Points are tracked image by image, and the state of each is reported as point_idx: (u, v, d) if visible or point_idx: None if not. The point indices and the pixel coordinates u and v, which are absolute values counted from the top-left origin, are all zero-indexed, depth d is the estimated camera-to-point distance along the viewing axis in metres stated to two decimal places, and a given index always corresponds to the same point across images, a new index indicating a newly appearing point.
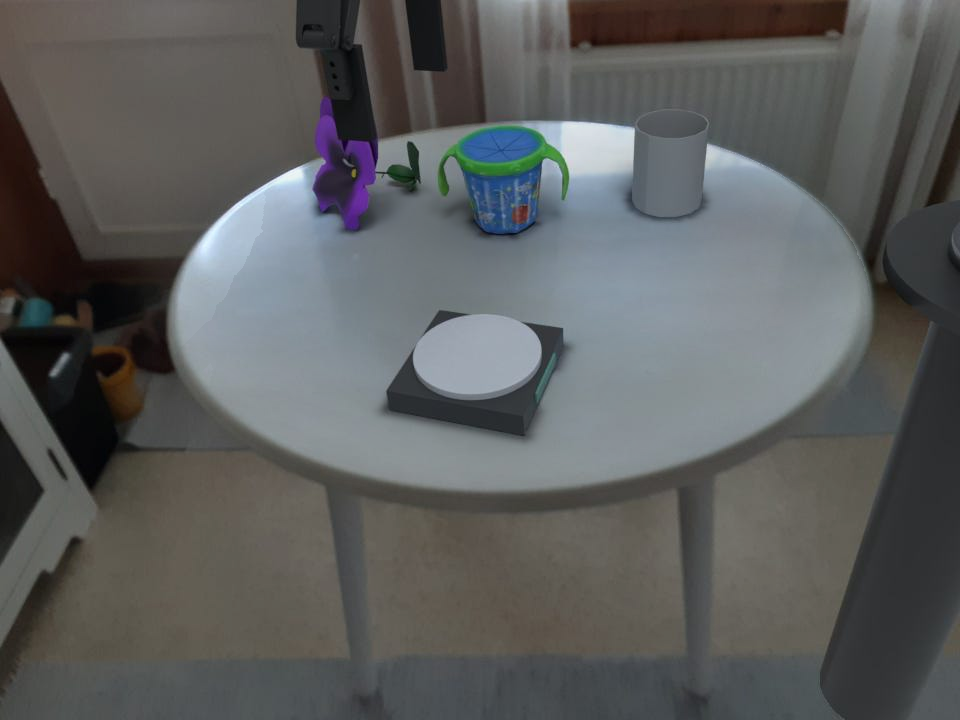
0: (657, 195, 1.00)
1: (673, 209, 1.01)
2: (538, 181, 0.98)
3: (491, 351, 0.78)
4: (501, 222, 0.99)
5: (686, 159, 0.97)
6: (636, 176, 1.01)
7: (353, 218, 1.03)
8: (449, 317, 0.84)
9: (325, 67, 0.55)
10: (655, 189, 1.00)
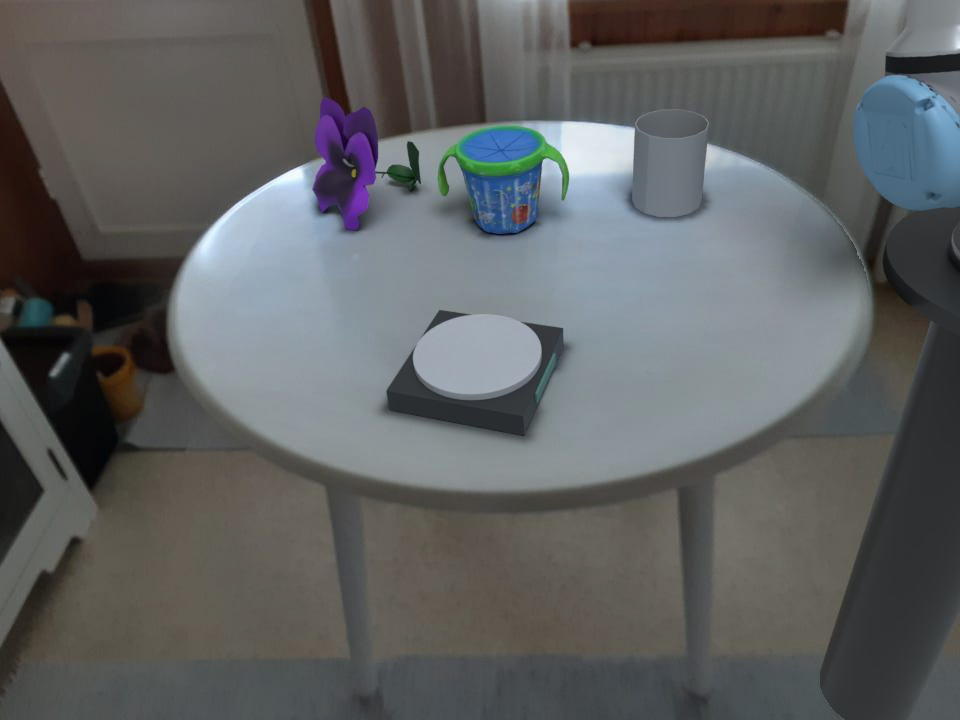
0: (657, 195, 1.00)
1: (673, 209, 1.01)
2: (538, 181, 0.98)
3: (491, 351, 0.78)
4: (501, 222, 0.99)
5: (686, 159, 0.97)
6: (636, 176, 1.01)
7: (353, 218, 1.03)
8: (449, 317, 0.84)
9: None
10: (655, 189, 1.00)
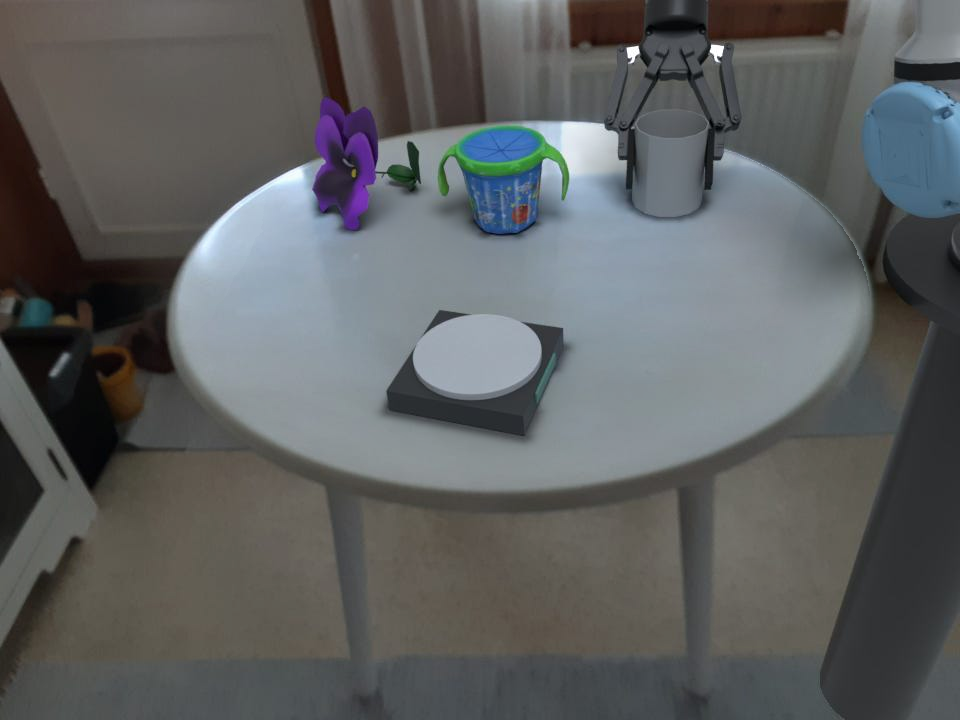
0: (657, 195, 1.00)
1: (673, 209, 1.01)
2: (538, 181, 0.98)
3: (491, 351, 0.78)
4: (501, 222, 0.99)
5: (686, 159, 0.97)
6: (636, 176, 1.01)
7: (353, 218, 1.03)
8: (449, 317, 0.84)
9: None
10: (655, 189, 1.00)
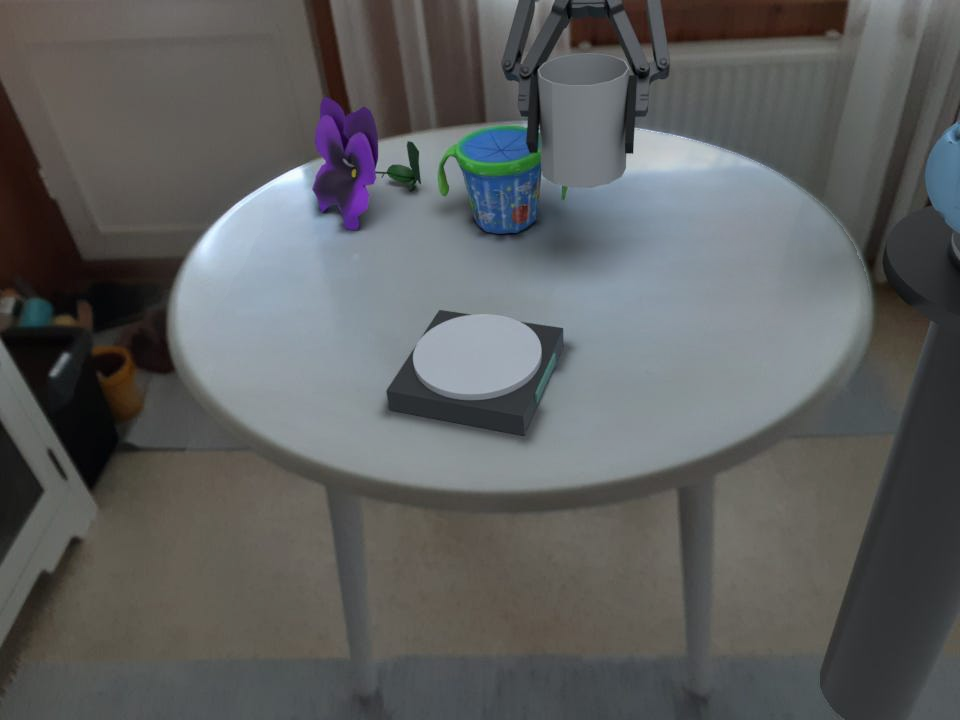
0: (566, 160, 0.80)
1: (587, 177, 0.81)
2: (538, 181, 0.98)
3: (491, 351, 0.78)
4: (501, 222, 0.99)
5: (599, 113, 0.77)
6: (542, 136, 0.81)
7: (353, 218, 1.03)
8: (449, 317, 0.84)
9: None
10: (563, 152, 0.80)
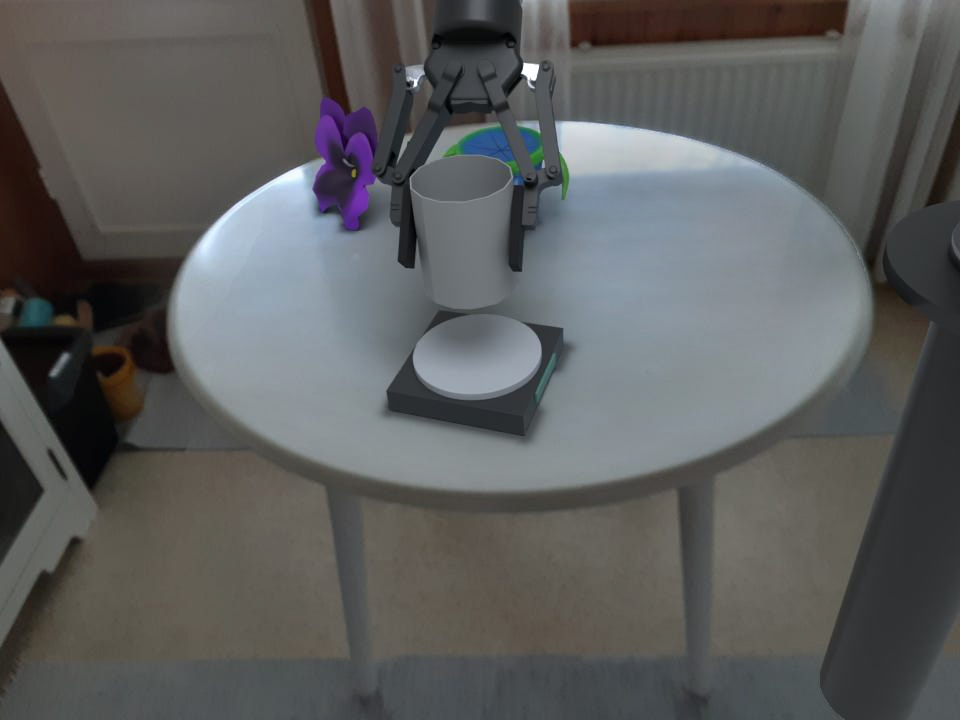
0: (445, 279, 0.70)
1: (470, 298, 0.70)
2: None
3: (491, 351, 0.78)
4: None
5: (477, 231, 0.66)
6: (419, 250, 0.71)
7: (353, 218, 1.03)
8: (449, 317, 0.84)
9: None
10: (441, 271, 0.69)
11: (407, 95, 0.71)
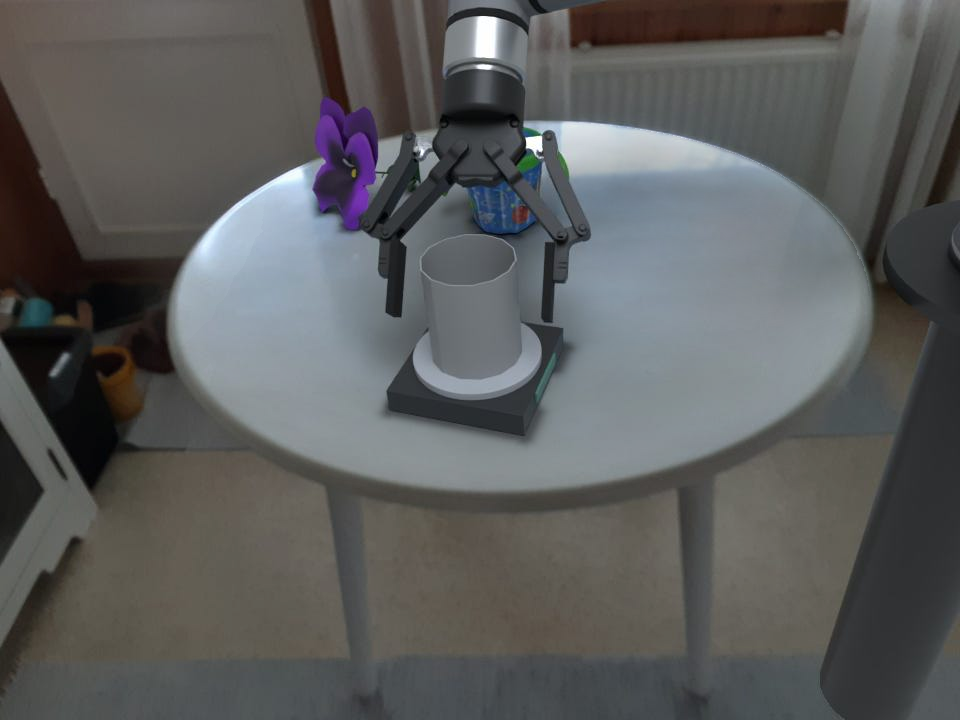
0: (453, 352, 0.74)
1: (476, 370, 0.75)
2: (538, 181, 0.98)
3: None
4: (501, 222, 0.99)
5: (483, 310, 0.71)
6: (428, 324, 0.75)
7: (353, 218, 1.03)
8: None
9: None
10: (449, 345, 0.74)
11: (411, 163, 0.75)
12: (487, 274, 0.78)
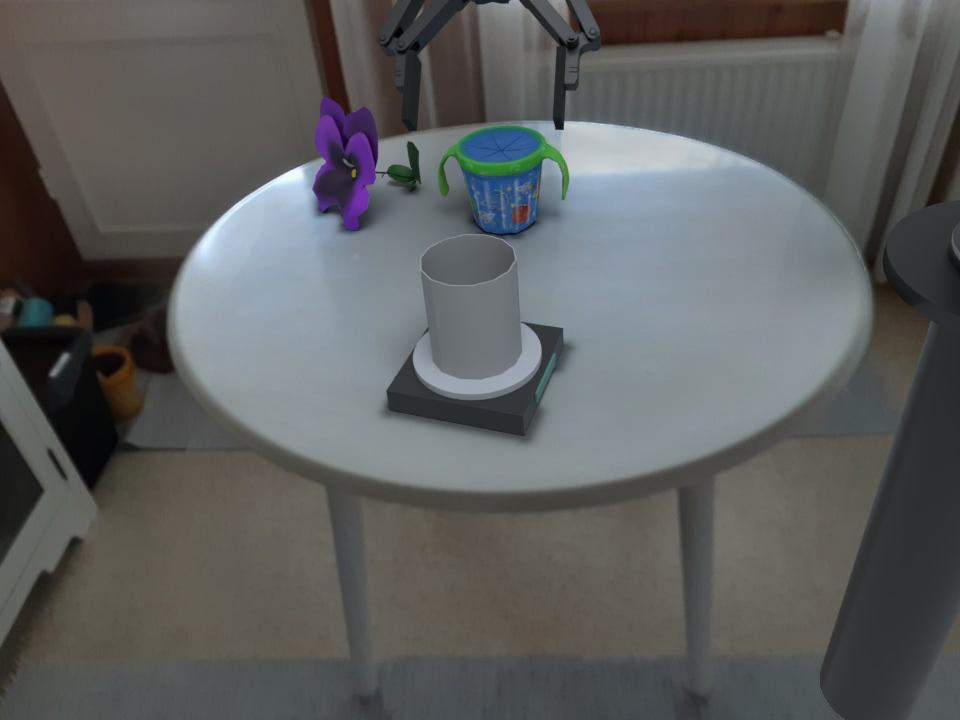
0: (453, 352, 0.74)
1: (476, 370, 0.75)
2: (538, 181, 0.98)
3: None
4: (501, 222, 0.99)
5: (483, 310, 0.71)
6: (428, 324, 0.75)
7: (353, 218, 1.03)
8: None
9: None
10: (449, 345, 0.74)
11: None
12: (487, 274, 0.78)
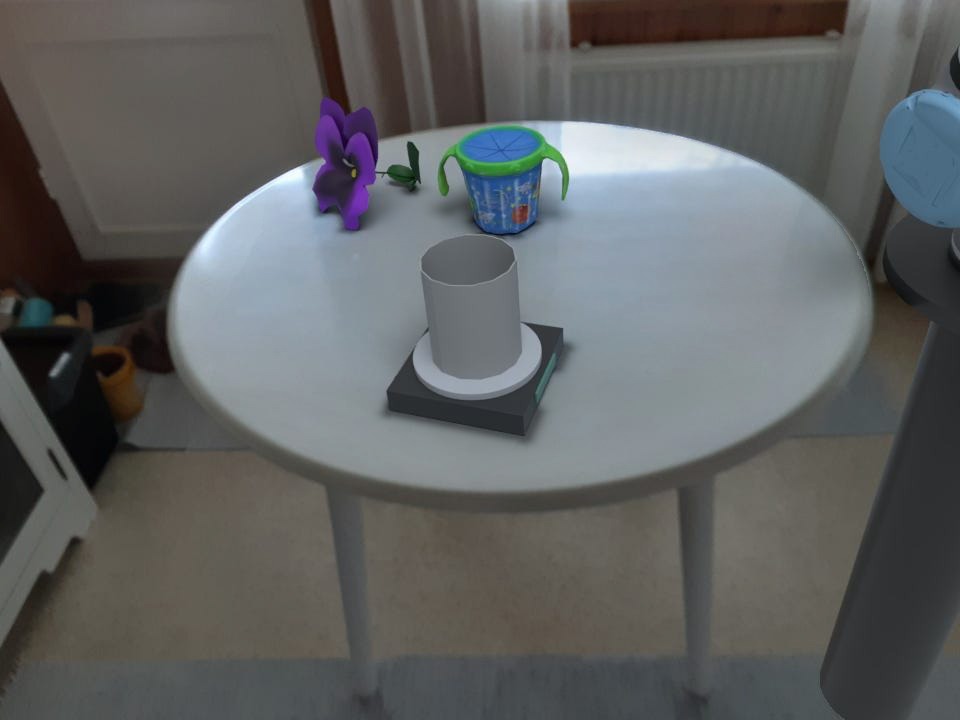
0: (453, 352, 0.74)
1: (476, 370, 0.75)
2: (538, 181, 0.98)
3: None
4: (501, 222, 0.99)
5: (483, 310, 0.71)
6: (428, 324, 0.75)
7: (353, 218, 1.03)
8: None
9: None
10: (449, 345, 0.74)
11: None
12: (487, 274, 0.78)
